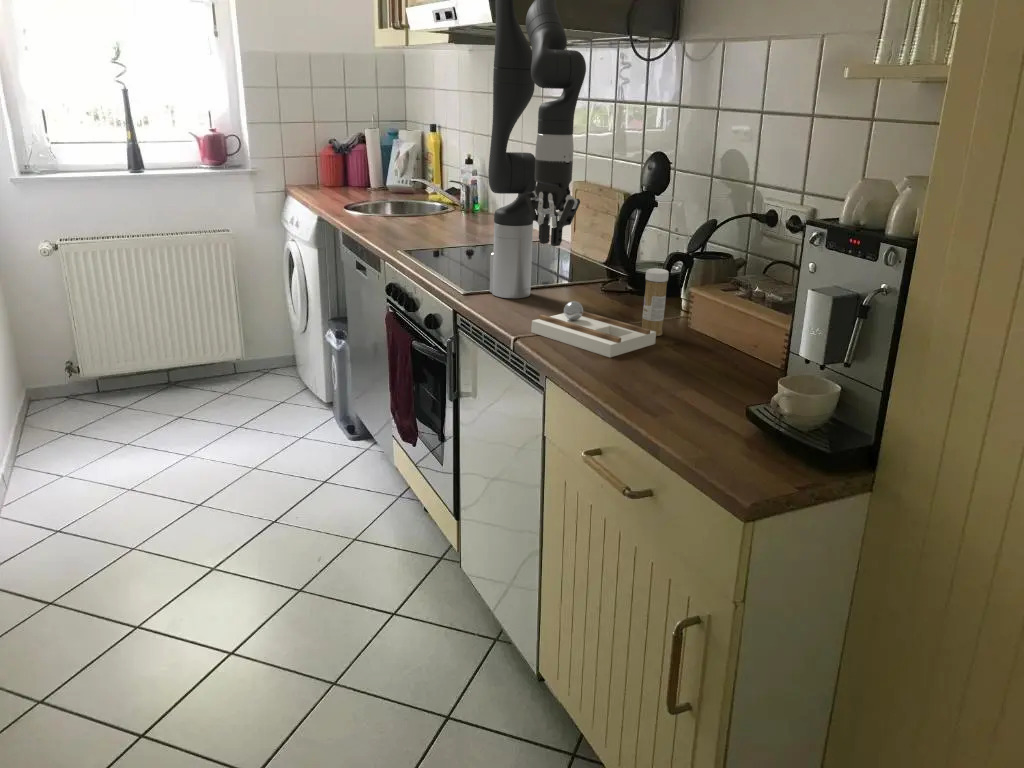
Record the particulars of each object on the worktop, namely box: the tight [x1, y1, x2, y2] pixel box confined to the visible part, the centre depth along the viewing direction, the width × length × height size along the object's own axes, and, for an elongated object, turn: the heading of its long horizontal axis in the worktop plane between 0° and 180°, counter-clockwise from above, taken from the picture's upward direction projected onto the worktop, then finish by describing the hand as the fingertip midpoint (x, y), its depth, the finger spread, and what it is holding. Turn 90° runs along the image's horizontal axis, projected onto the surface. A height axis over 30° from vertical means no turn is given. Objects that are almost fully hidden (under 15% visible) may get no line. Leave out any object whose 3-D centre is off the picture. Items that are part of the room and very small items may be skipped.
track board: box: [530, 310, 657, 358], centre depth 164 cm, size 21×14×3 cm, turn 44°
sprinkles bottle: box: [641, 267, 670, 337], centre depth 166 cm, size 5×5×13 cm
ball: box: [563, 300, 584, 321], centre depth 166 cm, size 4×4×4 cm
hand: (550, 244), depth 167 cm, fingers open, 2 cm apart
